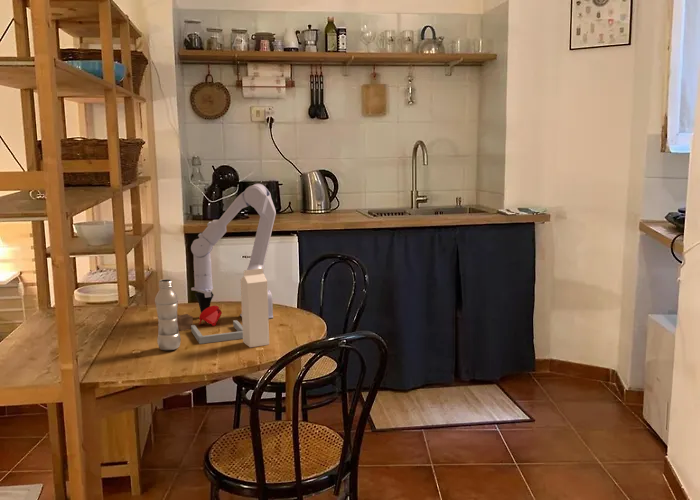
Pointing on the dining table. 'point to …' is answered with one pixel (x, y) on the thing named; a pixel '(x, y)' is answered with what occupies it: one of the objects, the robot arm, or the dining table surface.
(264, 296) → the milk
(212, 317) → the cap
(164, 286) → the plastic bottle
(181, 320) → the walnut block
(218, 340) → the tray frame
